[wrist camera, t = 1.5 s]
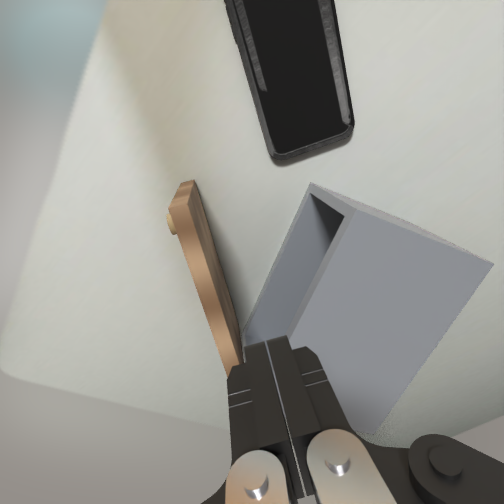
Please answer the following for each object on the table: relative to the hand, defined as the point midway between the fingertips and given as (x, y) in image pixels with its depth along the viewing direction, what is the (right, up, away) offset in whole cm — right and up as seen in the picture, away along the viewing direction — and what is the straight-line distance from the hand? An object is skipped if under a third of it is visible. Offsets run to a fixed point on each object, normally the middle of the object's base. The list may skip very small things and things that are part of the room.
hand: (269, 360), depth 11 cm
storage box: (+7, +1, +23) cm, 24 cm away
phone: (+2, +20, +15) cm, 25 cm away
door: (-5, +3, +20) cm, 21 cm away
